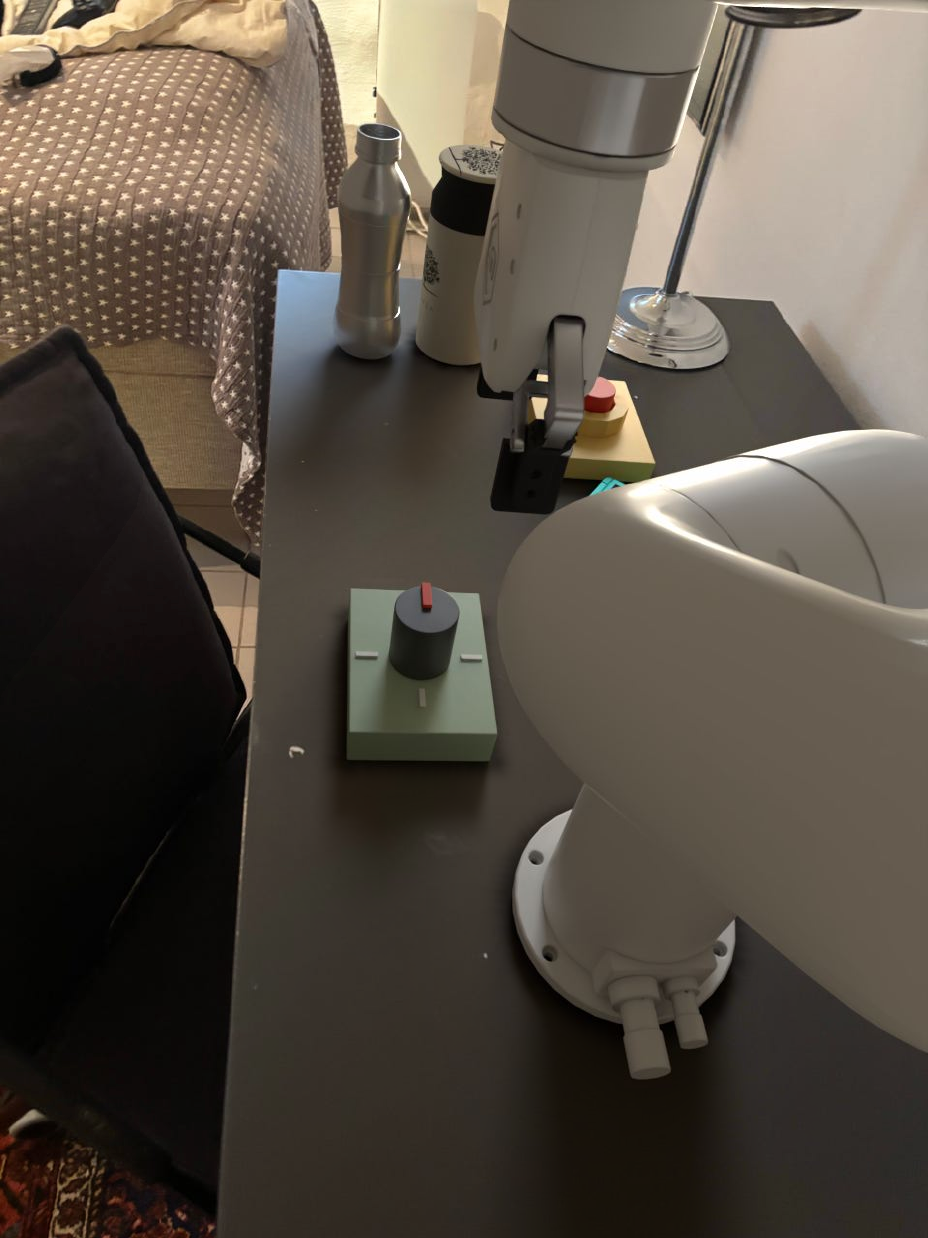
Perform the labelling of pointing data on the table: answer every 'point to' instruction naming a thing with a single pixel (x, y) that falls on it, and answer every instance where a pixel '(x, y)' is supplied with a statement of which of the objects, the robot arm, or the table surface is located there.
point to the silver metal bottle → (371, 244)
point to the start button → (600, 397)
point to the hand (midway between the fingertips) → (511, 449)
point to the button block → (606, 441)
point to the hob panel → (416, 689)
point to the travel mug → (455, 253)
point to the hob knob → (423, 632)
